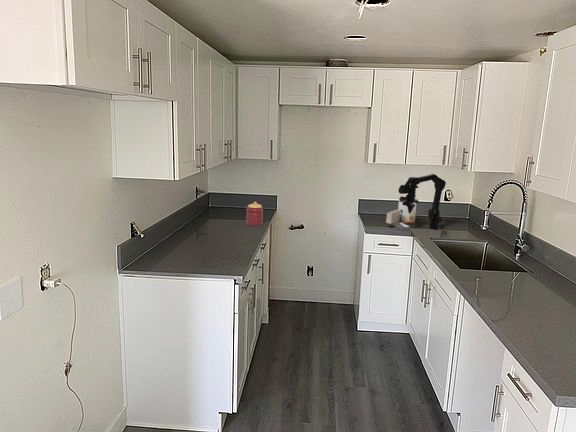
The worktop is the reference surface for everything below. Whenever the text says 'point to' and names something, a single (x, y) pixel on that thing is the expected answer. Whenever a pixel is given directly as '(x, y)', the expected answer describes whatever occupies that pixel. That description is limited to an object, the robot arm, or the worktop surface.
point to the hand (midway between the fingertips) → (409, 213)
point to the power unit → (400, 226)
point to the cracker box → (407, 213)
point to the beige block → (394, 216)
